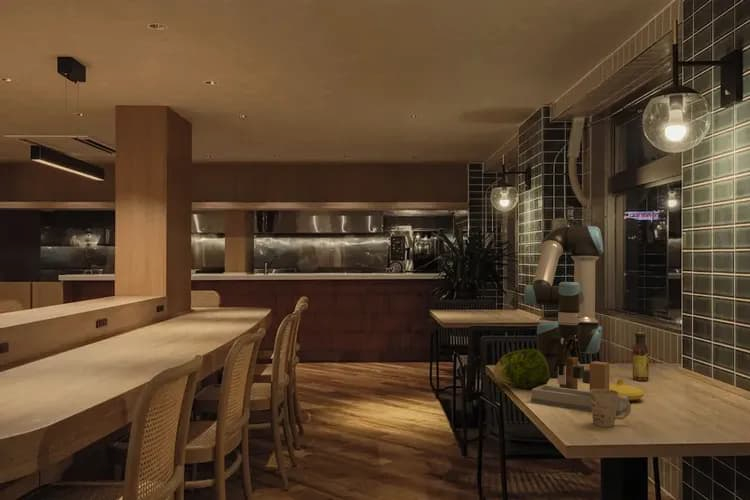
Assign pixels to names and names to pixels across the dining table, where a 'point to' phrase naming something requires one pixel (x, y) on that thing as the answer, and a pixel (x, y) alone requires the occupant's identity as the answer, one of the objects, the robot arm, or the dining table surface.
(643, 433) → the dining table surface
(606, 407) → the mug
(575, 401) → the brown blocky pieces
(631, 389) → the yellow curved piece
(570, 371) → the brown tall block
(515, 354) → the lettuce
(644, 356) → the sauce bottle
